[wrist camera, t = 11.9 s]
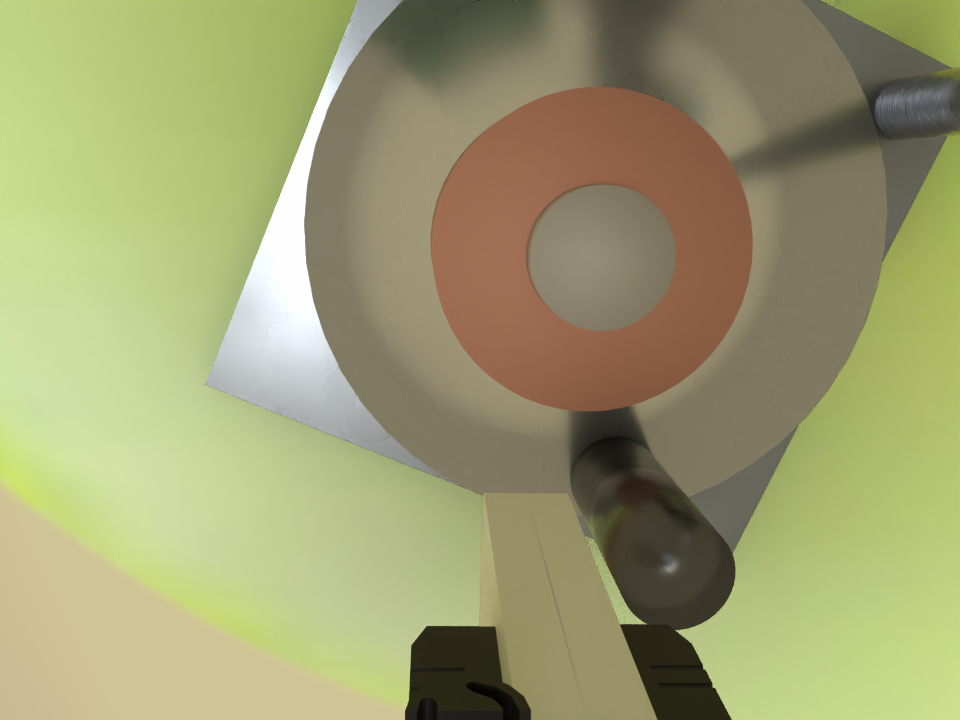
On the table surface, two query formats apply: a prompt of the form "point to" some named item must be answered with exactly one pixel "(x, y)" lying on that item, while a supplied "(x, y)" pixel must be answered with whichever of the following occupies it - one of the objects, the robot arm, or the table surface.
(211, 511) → the table surface
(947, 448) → the table surface
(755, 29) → the turntable
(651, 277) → the cover
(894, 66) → the turntable base
